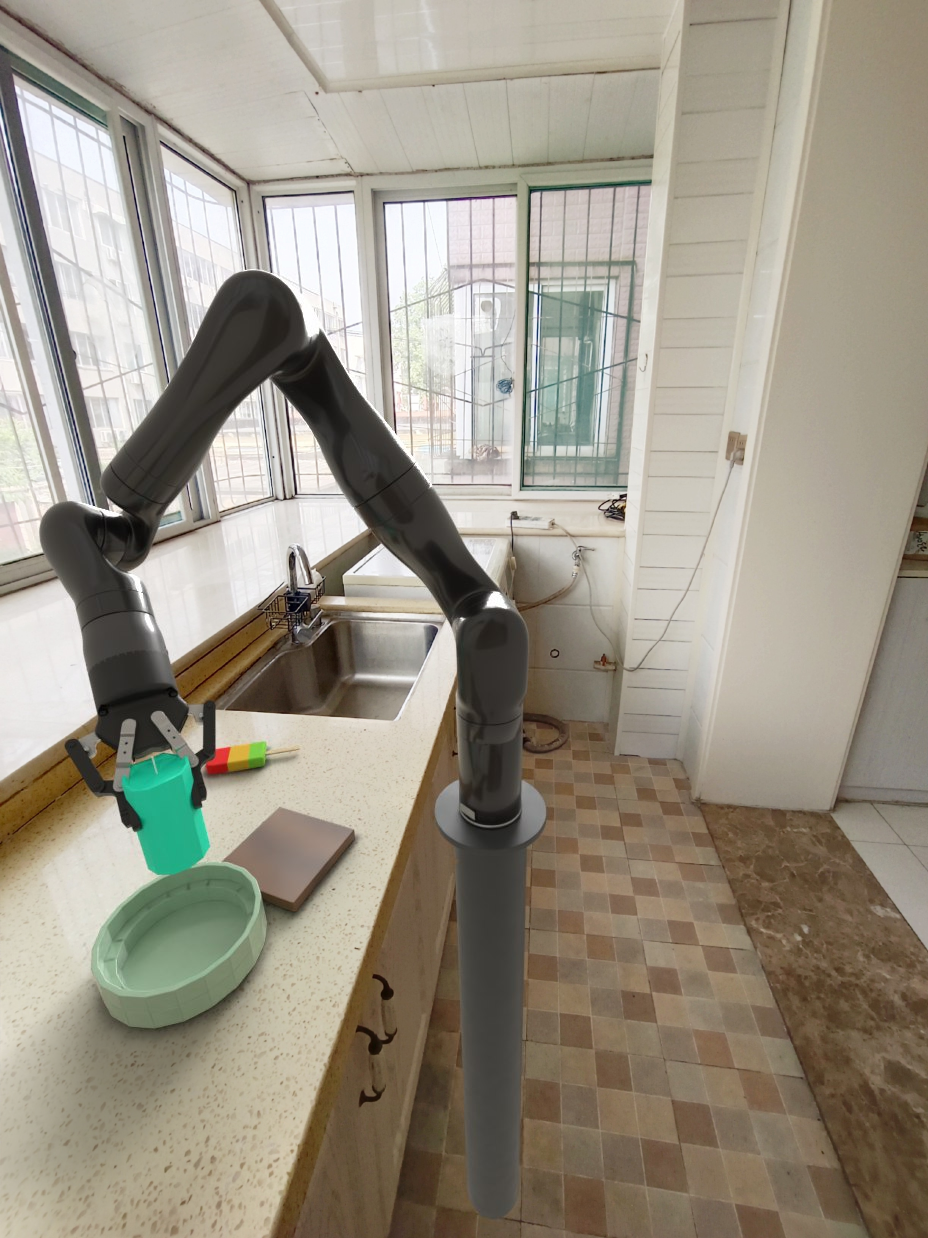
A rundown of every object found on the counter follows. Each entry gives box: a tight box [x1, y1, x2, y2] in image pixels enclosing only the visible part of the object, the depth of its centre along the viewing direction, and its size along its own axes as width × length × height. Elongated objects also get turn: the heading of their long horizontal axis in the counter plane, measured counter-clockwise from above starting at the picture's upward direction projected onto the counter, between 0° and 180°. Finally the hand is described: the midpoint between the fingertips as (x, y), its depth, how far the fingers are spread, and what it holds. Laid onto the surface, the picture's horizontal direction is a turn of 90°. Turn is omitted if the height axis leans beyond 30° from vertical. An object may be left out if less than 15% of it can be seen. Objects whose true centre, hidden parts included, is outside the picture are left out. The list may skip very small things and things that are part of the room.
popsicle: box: [205, 740, 301, 776], centre depth 93 cm, size 6×15×2 cm, turn 105°
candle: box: [122, 752, 211, 876], centre depth 54 cm, size 6×6×12 cm
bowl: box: [90, 861, 268, 1029], centre depth 59 cm, size 16×16×5 cm
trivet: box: [221, 806, 356, 913], centre depth 72 cm, size 13×13×2 cm
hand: (169, 817), depth 53 cm, fingers closed on candle, 4 cm apart
